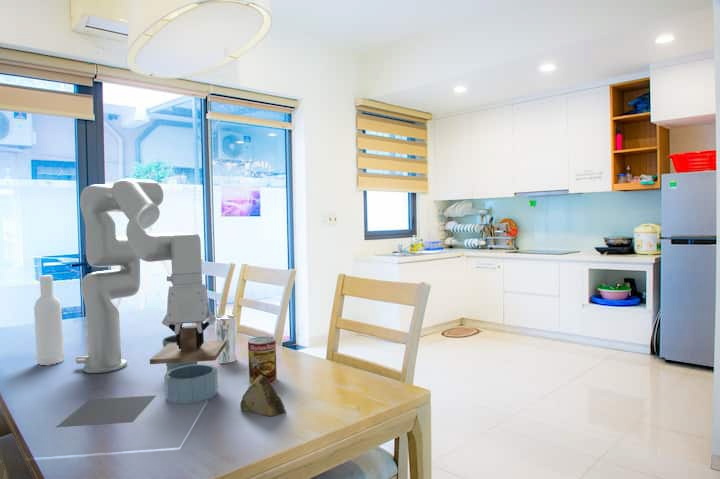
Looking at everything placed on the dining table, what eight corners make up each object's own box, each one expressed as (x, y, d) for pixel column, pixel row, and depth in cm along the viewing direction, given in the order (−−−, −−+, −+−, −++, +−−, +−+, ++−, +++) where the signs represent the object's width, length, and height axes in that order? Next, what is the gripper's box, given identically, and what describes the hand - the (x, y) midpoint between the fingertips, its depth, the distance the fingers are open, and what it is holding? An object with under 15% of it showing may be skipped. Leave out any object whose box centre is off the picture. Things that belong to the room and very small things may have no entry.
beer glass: (232, 364, 156) (230, 319, 156) (212, 363, 158) (210, 318, 157) (241, 358, 163) (240, 314, 162) (222, 357, 164) (221, 314, 164)
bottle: (67, 361, 164) (62, 275, 163) (40, 367, 158) (35, 277, 157) (60, 357, 170) (55, 273, 168) (34, 363, 164) (29, 276, 163)
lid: (149, 364, 120) (148, 335, 119) (168, 347, 136) (167, 322, 135) (215, 360, 121) (214, 332, 121) (226, 344, 137) (225, 319, 137)
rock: (227, 402, 117) (244, 409, 109) (244, 370, 121) (262, 374, 113) (261, 420, 122) (280, 427, 114) (277, 388, 126) (296, 393, 118)
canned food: (253, 386, 134) (251, 344, 134) (246, 378, 141) (244, 338, 141) (280, 381, 138) (278, 340, 138) (272, 374, 145) (270, 335, 145)
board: (55, 428, 110) (55, 427, 110) (89, 400, 127) (89, 399, 127) (132, 423, 112) (132, 421, 112) (156, 396, 129) (156, 395, 129)
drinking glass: (206, 372, 148) (205, 334, 148) (184, 383, 139) (183, 342, 138) (179, 370, 152) (178, 332, 151) (156, 380, 142) (154, 340, 142)
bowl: (159, 406, 122) (158, 381, 122) (174, 388, 135) (173, 365, 135) (211, 402, 123) (210, 378, 123) (221, 385, 136) (220, 363, 136)
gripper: (150, 282, 123) (153, 353, 124) (216, 279, 125) (219, 349, 125) (159, 279, 131) (162, 345, 131) (222, 276, 132) (224, 342, 133)
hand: (190, 346), depth 128 cm, fingers closed on lid, 4 cm apart
